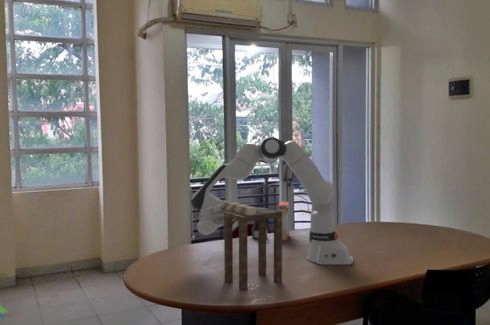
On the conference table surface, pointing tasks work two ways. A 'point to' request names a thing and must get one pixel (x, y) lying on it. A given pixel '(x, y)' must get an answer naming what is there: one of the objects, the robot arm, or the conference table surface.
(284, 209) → the cracker box
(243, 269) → the stand
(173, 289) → the conference table surface
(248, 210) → the bar
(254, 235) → the ink bottle
